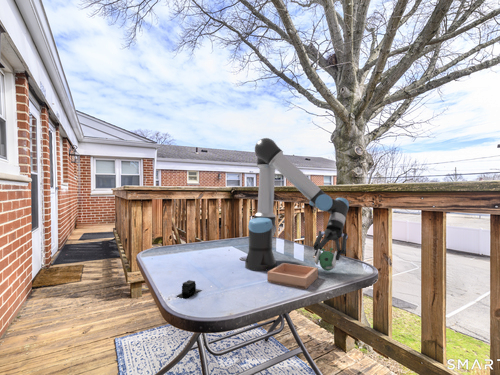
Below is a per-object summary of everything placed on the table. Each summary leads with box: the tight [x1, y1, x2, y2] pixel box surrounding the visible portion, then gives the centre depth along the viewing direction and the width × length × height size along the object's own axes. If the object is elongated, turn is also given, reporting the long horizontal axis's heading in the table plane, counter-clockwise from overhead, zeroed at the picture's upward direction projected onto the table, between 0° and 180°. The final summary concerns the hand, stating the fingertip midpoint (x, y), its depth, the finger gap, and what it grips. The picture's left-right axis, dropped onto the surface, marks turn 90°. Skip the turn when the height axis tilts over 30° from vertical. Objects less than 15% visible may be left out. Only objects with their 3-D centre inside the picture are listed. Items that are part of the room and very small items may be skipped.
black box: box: [176, 279, 203, 300], centre depth 90 cm, size 12×7×5 cm, turn 154°
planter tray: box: [266, 262, 319, 290], centre depth 104 cm, size 16×16×4 cm
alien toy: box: [318, 247, 335, 272], centre depth 113 cm, size 7×8×10 cm
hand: (324, 264), depth 110 cm, fingers closed on alien toy, 7 cm apart
